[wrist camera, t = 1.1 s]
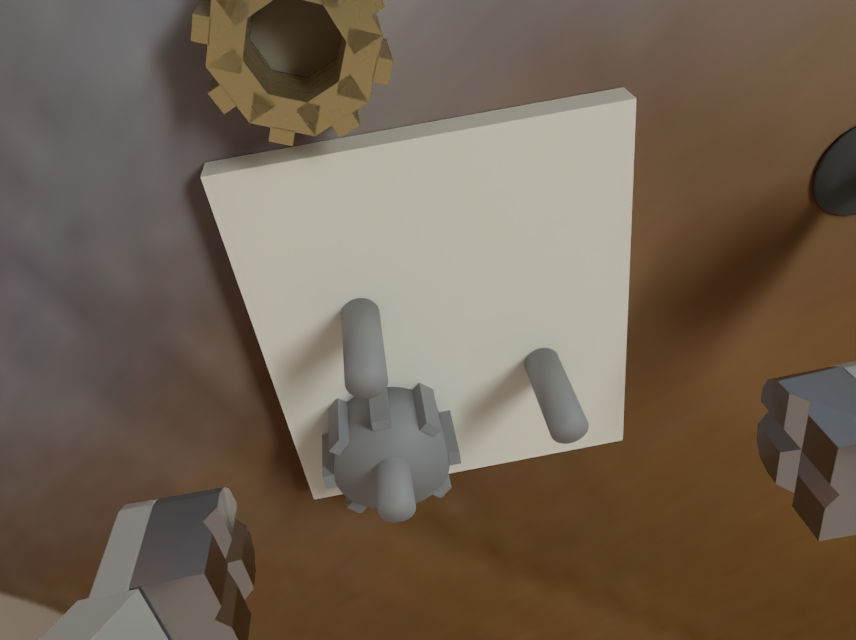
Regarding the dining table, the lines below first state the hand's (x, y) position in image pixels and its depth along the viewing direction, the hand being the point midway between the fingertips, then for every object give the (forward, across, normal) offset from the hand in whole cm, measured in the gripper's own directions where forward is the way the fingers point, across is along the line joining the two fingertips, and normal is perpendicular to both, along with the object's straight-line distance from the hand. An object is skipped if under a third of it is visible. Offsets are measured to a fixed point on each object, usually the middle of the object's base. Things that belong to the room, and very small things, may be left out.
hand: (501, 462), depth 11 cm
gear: (+22, +3, -3) cm, 22 cm away
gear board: (+22, 0, +11) cm, 25 cm away
